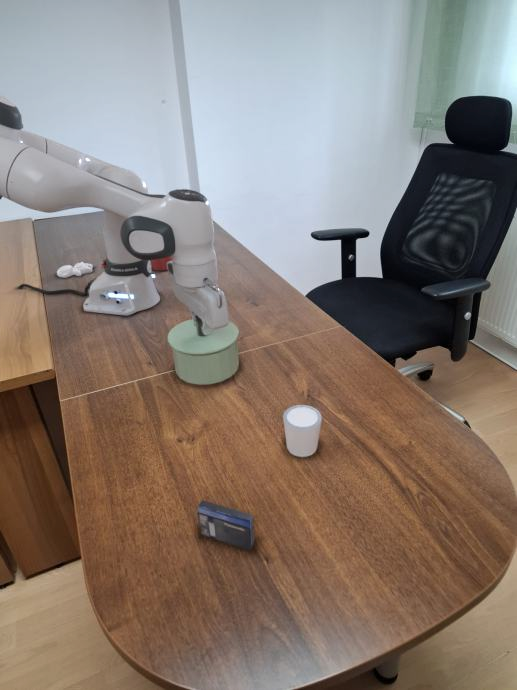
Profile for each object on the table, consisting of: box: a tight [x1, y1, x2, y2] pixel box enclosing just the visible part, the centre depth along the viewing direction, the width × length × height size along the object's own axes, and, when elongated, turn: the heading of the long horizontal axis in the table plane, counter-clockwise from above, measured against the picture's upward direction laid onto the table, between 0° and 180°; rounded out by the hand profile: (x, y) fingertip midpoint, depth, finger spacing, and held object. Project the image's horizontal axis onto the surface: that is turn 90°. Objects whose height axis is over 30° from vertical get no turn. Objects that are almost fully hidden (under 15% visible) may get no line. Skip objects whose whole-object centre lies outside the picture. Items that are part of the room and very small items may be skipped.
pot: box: [171, 339, 240, 386], centre depth 106 cm, size 15×15×8 cm
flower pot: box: [150, 256, 173, 272], centre depth 162 cm, size 11×11×10 cm
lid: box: [167, 315, 240, 354], centre depth 103 cm, size 16×16×6 cm
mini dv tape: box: [197, 499, 256, 551], centre depth 68 cm, size 8×2×6 cm, turn 69°
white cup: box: [282, 404, 323, 458], centre depth 83 cm, size 7×7×7 cm
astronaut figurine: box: [56, 261, 94, 279], centre depth 162 cm, size 9×12×3 cm
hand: (202, 329), depth 103 cm, fingers closed on lid, 2 cm apart
